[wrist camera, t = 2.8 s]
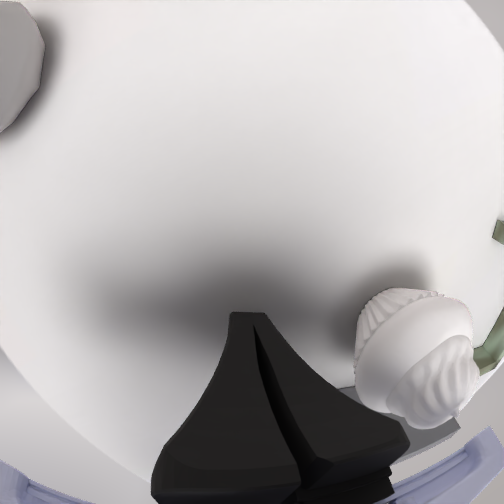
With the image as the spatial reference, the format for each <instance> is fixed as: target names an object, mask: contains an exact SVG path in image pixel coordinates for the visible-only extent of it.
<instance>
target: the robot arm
mask: <svg viewBox="0 0 504 504" xmlns="http://www.w3.org/2000/svg"><path fill="white" fill-rule="evenodd" d="M410 445H411V444H410V441H409V439H408V437H407V435H406V433H405V431H404V429H403V427H402V425H401V424H400V422H399V421H397V420H394V419H392V418H389V417H387V416H385V415H382V414H380V413H378V412H375V411H373V410H371V409H369V408H368V407H366V406H364V405H362V404H360V403H358V402H357V401H355V400H353V399H352V398H350V397H348V396H347V395H345V394H344V393H342V392H341V391H339V390H338V389H336V388H335V387H334V386H332V385H331V384H330V383H328V382H327V381H326V380H325V379H323V378H322V377H321V376H320V375H319V374H317V373H316V372H315V371H314V370H313V369H312V368H311V367H310V366H309V365H308V364H307V363H306V362H305V361H304V360H303V359H302V358H301V357H300V356H299V355H298V354H297V353H296V352H295V351H294V350H293V348H292V347H291V346H290V345H289V344H288V343H287V341H286V340H285V339H284V338H283V337H282V335H281V334H280V333H279V331H278V330H277V329H276V327H275V326H274V325H273V323H272V322H271V321H270V319H269V318H268V317H267V315H266V314H265V313H253V312H232V313H231V314H230V317H229V327H228V337H227V341H226V344H225V348H224V351H223V353H222V356H221V358H220V361H219V363H218V366H217V368H216V370H215V372H214V375H213V377H212V379H211V381H210V383H209V384H208V386H207V388H206V390H205V391H204V393H203V395H202V397H201V398H200V400H199V401H198V403H197V405H196V406H195V408H194V409H193V410H192V412H191V413H190V415H189V416H188V417H187V419H186V420H185V421H184V423H183V424H182V425H181V427H180V428H179V429H178V430H177V431H176V433H175V434H174V435H173V436H172V437H171V438H170V439H169V441H168V442H167V443H166V444H165V445H164V447H163V449H162V451H161V453H160V455H159V457H158V460H157V462H156V464H155V467H154V470H153V473H152V478H151V496H152V497H153V498H154V499H155V500H156V501H157V502H158V504H387V503H388V504H470V503H471V502H472V501H473V500H474V499H475V498H476V497H477V495H479V494H480V493H481V492H482V490H483V489H484V488H485V487H486V486H487V485H488V484H489V483H490V482H491V481H492V480H493V479H494V478H495V477H496V476H497V475H498V474H499V473H500V472H501V471H502V470H503V469H504V448H503V446H502V445H501V443H500V441H499V440H498V438H497V436H496V435H495V433H494V432H493V430H492V428H491V427H490V426H488V427H487V428H485V429H484V430H483V431H481V432H480V433H478V434H477V435H476V436H475V437H473V438H472V439H471V440H470V441H469V442H468V443H466V444H465V446H464V447H462V448H461V449H459V450H458V451H456V452H455V453H453V454H451V455H450V456H448V457H446V458H445V459H443V460H441V461H439V462H438V463H436V464H434V465H432V466H430V467H428V468H427V469H425V470H423V471H421V472H419V473H417V474H415V475H413V476H411V477H409V478H406V479H404V480H402V481H400V482H398V483H395V484H393V485H392V484H391V482H390V480H389V476H391V475H392V472H391V469H390V467H389V466H390V465H391V464H393V463H394V462H395V461H396V460H397V459H399V458H400V457H401V456H402V455H403V454H404V453H405V452H406V451H407V450H408V449H409V447H410ZM0 504H94V503H90V502H87V501H84V500H81V499H78V498H75V497H72V496H69V495H67V494H63V493H61V492H59V491H56V490H54V489H51V488H49V487H46V486H44V485H42V484H40V483H37V482H35V481H33V480H31V479H29V478H28V477H27V476H26V475H24V474H23V473H22V472H20V471H19V470H17V469H16V468H14V467H12V466H11V465H9V464H7V463H5V462H3V461H2V460H0Z"/></svg>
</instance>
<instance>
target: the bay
mask: <svg viewBox="0 0 504 504" xmlns="http://www.w3.org/2000/svg"><path fill="white" fill-rule="evenodd" d="M493 238H494V239H495V240H497V241H498V242H500V243H502V244H503V245H504V222H502V221H500V220H498V221H497V224H496V228H495V231H494V234H493ZM473 350H474V353H473V360H474V361H475V363H476V365H477V366H478V367H479V372H480V376H481V375H483V374H485V373H487V372H489V371H491V370H493V369H495V367H496V366H497V364H498V363H499V362H500V360H501V359H502V357H503V356H504V308H503V310H502V312H501V314H500V316H499V318H498V320H497V322H496V324H495V325H494V327H493V329H492V331H491V333H490V334H489V336H488V338H487V339H486V341H485V343H484V344H483V346H481V347H478V348H476V349H473Z"/></svg>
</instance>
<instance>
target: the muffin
mask: <svg viewBox="0 0 504 504" xmlns="http://www.w3.org/2000/svg"><path fill="white" fill-rule="evenodd" d="M472 339H473V320H472V316H471V313H470V311H469V309H468V308H467V306H466V305H465V304H464V303H463V302H461V301H459V300H457V299H454V298H450V297H444V294H438V292H435V291H426V290H417V289H407V288H396V287H394V288H389V289H388V290H383V291H382V293H378V294H377V296H374V297H373V298H372V300H370V301H368V303H367V304H366V305H365V308H364V309H362V310H361V314H360V315H359V319H358V321H357V331H356V343H355V354H354V364H353V367H354V368H355V370H354V373H355V386H356V391H357V394H358V396H359V398H360V400H361V401H362V403H363V404H364V405H365V406H367V407H368V408H370V409H372V410H375V411H378V412H382V413H392V414H395V415H398V416H401V417H405V419H406V421H407V423H408V424H409V425H410V426H412V427H413V428H416V429H431V428H435V427H437V426H439V425H441V424H443V423H445V422H446V421H447V420H449V419H451V418H452V417H456V418H457V417H458V416H459V411H460V410H461V409H463V408H464V407H465V405H466V404H467V403H468V402H469V401H470V399H471V398H472V396H473V395H474V393H475V391H476V389H477V386H478V382H479V376H480V372H479V367H478V366H477V365H476V363H475V361H474V360H473V353H474V350H473V347H472V344H471V343H472Z"/></svg>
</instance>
